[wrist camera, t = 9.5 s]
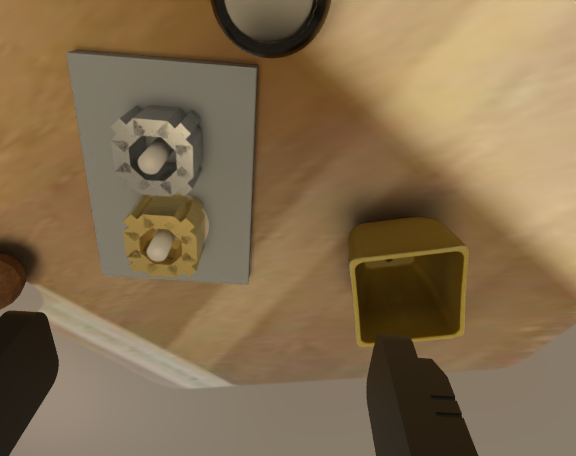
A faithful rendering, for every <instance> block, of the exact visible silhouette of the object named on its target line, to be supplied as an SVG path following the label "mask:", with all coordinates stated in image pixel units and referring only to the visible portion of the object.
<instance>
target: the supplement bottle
mask: <svg viewBox="0 0 576 456" xmlns="http://www.w3.org/2000/svg"><path fill="white" fill-rule="evenodd" d="M330 3H331V0H211V4H212V8H213V12H214V14H215V17H216V19H217V22H218V24H219V25H220V27H221V29H222V30H223V32H224V33H225V34H226V36H227V37H228V38H229V39H230V40H231V41H232V42H233V43H234V44H235V45H236V46H238V47H239V48H241V49H242V50H244V51H246V52H247V53H250V54H252V55H255V56H258V57H263V58H281V57H285V56H289V55H292V54H294V53H296V52H298V51H300V50H301V49H303V48H304V47H306V46H307V45H308V44H309V43H310V42H311V41H312V40H313V39H314V38H315V37H316V36H317V34H318V33H319V31H320V30H321V28H322V26H323V24H324V23H325V20H326V18H327V15H328V12H329V8H330Z"/></svg>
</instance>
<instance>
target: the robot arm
mask: <svg viewBox="0 0 576 456" xmlns="http://www.w3.org/2000/svg"><path fill="white" fill-rule="evenodd" d="M58 366H59V360H58V355H57V351H56V348H55V344H54V340H53V337H52V333H51V329H50V325H49V322H48V318H47V316H46V315H45V314H44V313H42V312H26V311H7V312H5V313H4V314H3V315H2V316H1V317H0V456H9V455H10V453H11V451H12V450H13V448H14V447H15V445H16V443H17V441H18V440H19V438H20V437H21V435H22V434H23V432H24V430H25V429H26V427H27V426H28V424H29V422H30V421H31V419H32V418H33V416H34V414H35V413H36V411H37V409H38V408H39V406H40V405H41V403H42V402H43V400H44V398H45V397H46V395H47V394H48V392H49V390H50V389H51V387H52V385H53V384H54V382H55V379H56V376H57V373H58ZM367 405H368V411H369V417H370V422H371V428H372V434H373V440H374V446H375V452H376V456H478V454H477V451H476V449H475V446H474V444H473V441H472V439H471V436H470V434H469V431H468V428H467V426H466V423H465V421H464V418H462V413H461V411H460V408H459V405H458V403H457V401H455V395H454V393H453V390H452V388H451V385H450V382H449V380H448V377H447V376H446V375H445V373H444V372H443V371H442V370H441V369H440V368H439V367H438V365H437V364H436V363H435V362H434V361H433V360H432V359H426V358H418V357H417V354H416V351H415V348H414V345H413V342H412V339H411V337H410V336H409V335H396V334H377V336H376V339H375V344H374V348H373V353H372V358H371V363H370V367H369V372H368V377H367Z"/></svg>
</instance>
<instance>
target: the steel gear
mask: <svg viewBox="0 0 576 456" xmlns="http://www.w3.org/2000/svg"><path fill="white" fill-rule="evenodd" d="M200 120H201V118H200V117H199V116H198V115H197V114H196V113H195V112H194V111H193V110H191V111H190V112H189V113H188V114H186V113H185V112H184V111H183V110H182V109H181V108H180V107H170V106H157V105H148V106H147V107H146V108H145V109H143V110H142V109H141V108H140V107H139V106H138V105H136V106H135V107H134V108H132V109H131V110H130V111H128V112H127V113H126V114H124V115H123V116H122V117H120V118H119V119H118V120H117V121H116V122H115V123H114V124H113V125H112V126H111V127H110V128H111V129H112V130H113V131H114V132H116V133H117V134H116V136H115V137H114V138H113V139H112V140H111V145H112V153H113V161H114V169H115V172H116V173H117V174H118V175H119V176H120V177H121V178H122V179H121V180H120V181H119V182H118V184H119V185H120V186H121V187H122V188H123V189H124V190H125V191H127V192H129V191H130V190H131V189H132V188H134V189H135V190H136V191H137V192H138V193H139V194H144V195H158V196H171V197H172V196H173V195H174V194H175V193H176V192H178V191H179V192H180V193H181V194H182V195H183V196H185V195H186V194H187V193H189V192H190V191H191V190H192V189H193V188H194V186H195V184H196V182H197V180H198V178H199V175H200V173H201V171H202V168H201V167H200V164H201V162H202V160H203V130H202V129H201V128H200V127H199V126H198V123H199V122H200ZM145 136H152V137H162V138H163V139H164V140H165V141H166V142H167V143H168V144H169V145H170V146H171V147H172V148H173V149H174V150H175V151H176V160H177V163H174V162H165V163H164V165H163V166H162V167H161V169H160V170H159V171H158V172H157V173H155V174H147V173H144V172H143V171H142V170H141V169H140V168H139V165H138V159H139V157H140V156H141V155H142V153H143V152H144V151H145V150H146V149H147V148H146V137H145Z"/></svg>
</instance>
